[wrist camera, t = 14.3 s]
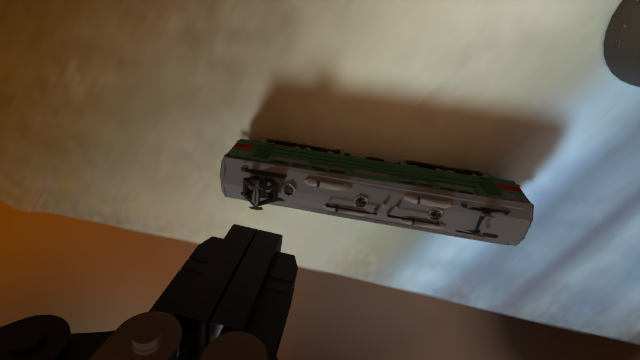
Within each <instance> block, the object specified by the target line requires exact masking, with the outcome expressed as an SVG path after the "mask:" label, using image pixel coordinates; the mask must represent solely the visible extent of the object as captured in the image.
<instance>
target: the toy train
mask: <svg viewBox="0 0 640 360" xmlns="http://www.w3.org/2000/svg"><path fill="white" fill-rule="evenodd" d="M220 179H221V188H222V192H223V194H224V195H225V197H230V198H235V199H241V200H246V201H249V202H250V203H251V204H252V205H253V206H254V207H249V208H251V209H255V210H263V209H262V207H257V206H261V205H265V204H271V205H277V206H283V207H289V208H295V209H301V210H306V211H311V212H316V213H321V214H327V215H332V216H338V217H344V218H350V219H355V220H361V221H367V222H373V223H379V224H385V225H390V226H396V227H402V228H408V229H414V230H420V231H425V232H431V233H437V234H443V235H449V236H455V237H460V238H466V239H473V240H479V241H485V242H491V243H497V244H503V245H514V246H516V245H518V244H519V243H520V242H521V241H522V240H523V239H524V238H525V236H526V234H527V231H528V229H529V228H530V225H531V223H532V221H533V210H534V205H533V204H532V203H531V202H530V201H529V200H528V199H527V197H526V196H525V195H524V193H523V192H522V190H521V189H520V187H519V186H520V185H517V184H516V183H515V182H514V181H508V180H502V179H496V178H490V177H489V176H488V175H487V174H484V173H482V172H479V171H469V170H462V169H455V168H448V167H445V166H436V165H430V164H425V163H419V162H414V161H409V160H405V161H401V162H399V163H398V164H395V163H389V162H384V160H382V159H378V158H372V157H366V158H365V159H363V158H358V157H352V156H350V154H347V153H345V152H343V151H342V150H339V149H324V148H319V147H313V146H308V145H306V144H296V143H290V142H284V141H278V140H274V139H262V140H261V141H260V142H257V141H251V140H245V139H243V138H242V139H240V140H238V141H237V143H236V144H235V145H234V146H233V148H232V149H231V150H230V151H229V152H228V153H227V154H225V156H224V158H223V159H222V163H221V169H220Z"/></svg>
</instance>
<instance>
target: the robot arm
mask: <svg viewBox="0 0 640 360" xmlns="http://www.w3.org/2000/svg"><path fill="white" fill-rule="evenodd" d="M603 45H604V57H605V60H606V64H607V66H608V67H609V69H610V70H611V72H612V73H613V74H614V75H615V76H616V77H617V78H618V79H620V80H621V81H624V82H626V83H628V84H630V85H634V86H637V87H640V0H624V1H623V2H622V3H621V5H620V6H619V7H618V8H617V10H616V12H615V13H614V15H613V17H612V18H611V20H610V23H609V25H608V27H607V30H606V33H605V38H604V44H603ZM281 244H282V235H280V234H275V233H271V232H267V231H262V230H258V229H253V228H249V227H245V226H240V225H236V224H234V225H233V226H232V227H231V229H230V230H229V232H228V233H227V235H226V236H225V238H224V239H222V238H217V237H211V238H209V239H208V240H206V241H204V242H203V243H201V244H199V245H198V246H197V248H196V249H195V250H194V252H193V253H192V254H191V256H190V257H189V260H187V261H186V262H185V264H184V265H183V266H182V268H181V270H180V271H179V272H178V273H177V274H176V276H175V277H174V279H173V280H172V281H171V282H170V284H169V285H168V287H167V288H166V289H165V290H164V292H163V293H162V295H161V296H160V297H159V299H158V300H157V301H156V303H155V304H154V305H153V307H152V308H151V309H150V310H149V312H145V313H141V314H138V315H136V316H133V317H131V318H130V319H128V320H126V321H125V322H124V323H122V324H121V326H119V327H118V328H117V330H115V331H109V332H96V333H95V332H94V333H76V334H75V333H74V334H71V332H70V327H69V325H68V323H67V322H66V321H65V320H64V319H62V318H60V317H58V316H54V315H37V316H32V317H28V318H24V319H21V320H18V321H16V322H13V323H10V324H8V325H5V326H2V327H0V360H278V359H277V352H278V349H279V345H280V342H281V338H282V335H283V331H284V327H285V324H286V320H287V316H288V313H289V310H290V306H291V301H292V296H293V291H294V286H295V280H296V276H297V270H298V267H297V263H296V260H295V256H294V255H290V254H286V253H282V252H280V251H281Z"/></svg>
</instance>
